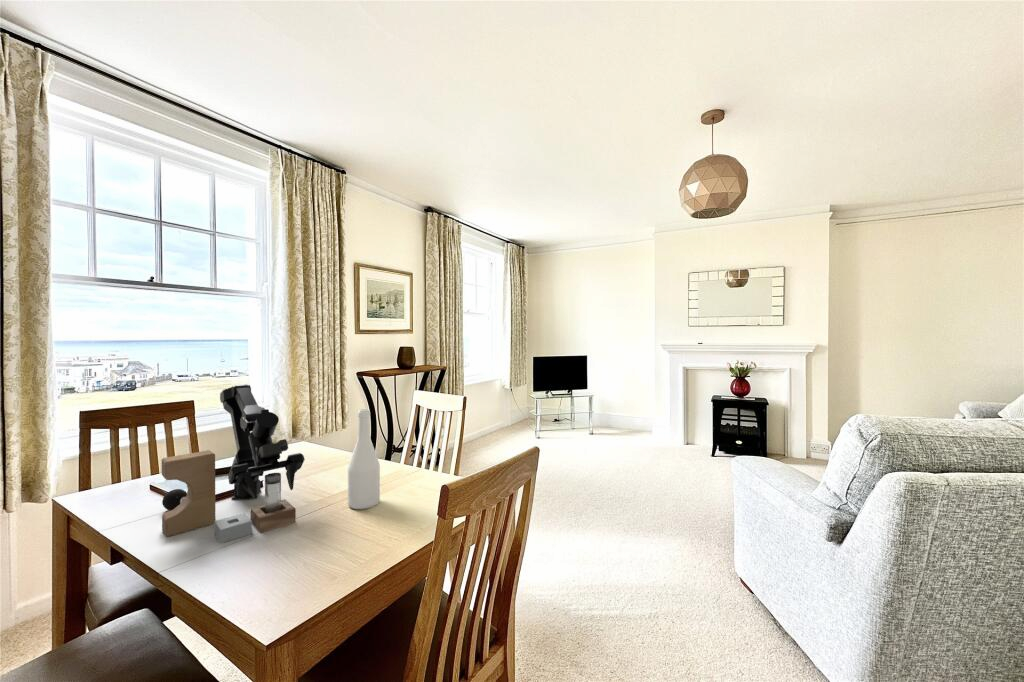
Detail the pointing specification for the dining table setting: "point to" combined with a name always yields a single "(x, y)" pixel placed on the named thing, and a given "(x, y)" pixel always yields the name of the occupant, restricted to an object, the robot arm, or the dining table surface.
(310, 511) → the dining table surface
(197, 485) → the decorative block
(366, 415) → the wine bottle
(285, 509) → the walnut block
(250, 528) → the slate block
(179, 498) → the billiard ball
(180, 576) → the dining table surface
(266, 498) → the cylinder
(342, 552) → the dining table surface
